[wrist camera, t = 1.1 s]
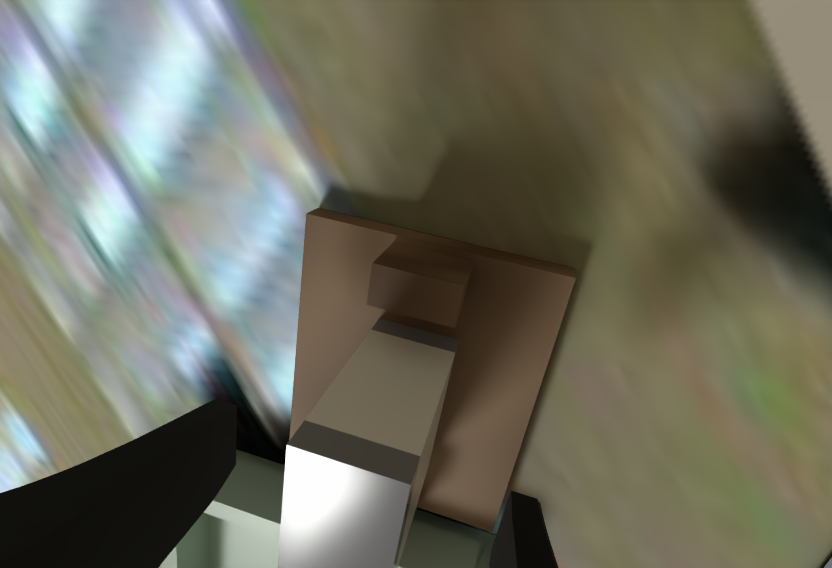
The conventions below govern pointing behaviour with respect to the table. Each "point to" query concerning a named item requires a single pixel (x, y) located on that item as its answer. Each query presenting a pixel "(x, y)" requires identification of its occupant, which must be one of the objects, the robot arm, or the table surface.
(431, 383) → the block
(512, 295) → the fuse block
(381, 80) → the table surface
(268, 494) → the parts tray
